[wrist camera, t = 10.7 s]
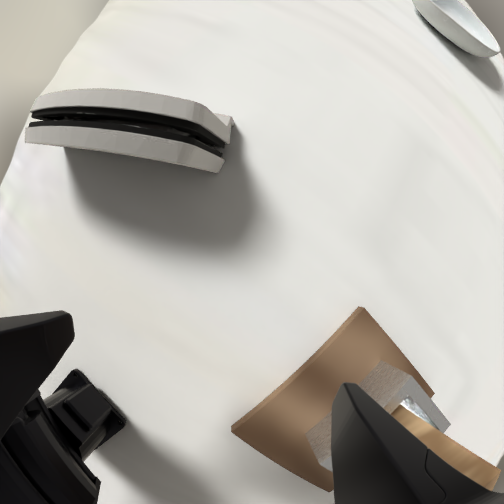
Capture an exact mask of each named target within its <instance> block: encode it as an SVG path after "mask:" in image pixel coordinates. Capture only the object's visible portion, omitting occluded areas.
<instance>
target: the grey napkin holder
mask: <svg viewBox="0 0 504 504" xmlns="http://www.w3.org/2000/svg"><path fill="white" fill-rule="evenodd" d="M30 112H31V113H32V116H31V117H32V118H35V119H39V120H43V121H37V122H31V123H30V124H29V127H26V128H25V143H34V144H43V145H52V146H60V147H69V148H78V149H86V150H94V151H101V152H108V153H115V154H121V155H128V156H134V157H140V158H145V159H151V160H156V161H162V162H167V163H172V164H177V165H182V166H187V167H191V168H196V169H201V170H205V171H210V172H214V173H218V172H219V171H220V169H221V167H222V165H223V163H224V161H225V160H224V159H222V158H221V157H222V153H220V152H219V151H217V150H215V149H213V148H211V147H209V146H207V145H206V144H208V145H212V146H217V147H222V148H224V146H225V143H226V144H230V133H231V126H233V125H234V120H233V118H232V117H231V116H226V115H221V114H216V113H212V112H211V111H210V110H209V109H208V108H207V107H206V106H204V105H202V104H200V103H197V102H194V101H190V100H186V99H181V98H177V97H172V96H167V95H161V94H155V93H148V92H141V91H131V90H119V89H74V90H65V91H58V92H53V93H48V94H45V95H42V96H39V97H37V98H36V100H35V102H34V104H33V106H32V108H31V110H30Z"/></svg>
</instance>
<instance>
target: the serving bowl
mask: <svg viewBox="0 0 504 504" xmlns="http://www.w3.org/2000/svg"><path fill="white" fill-rule="evenodd" d="M412 2H413V3H414V5H415V7H416V8H417V10H418V11H419V12H420V13H421V14H422V16H423V17H424V18H425V19H426V20H427V21H428V22H429V23H430V24H431V25H432V26H433V27H435V28H436V29H437V30H438V31H439V32H440V33H441V34H442V35H444V36H445V37H446V38H447V39H449V40H450V41H451V42H453V43H454V44H455V45H457V46H458V47H460V48H461V49H463V50H465V51H466V52H468V53H470V54H472V55H475V56H478V57H483V58H488V57H493V56H495V55H497V54H498V53H500V47H499V45H498V43H497V41H496V39H495V38H494V37H493V35H492V34H491V33H490V31H489V30H488V29H487V27H486V26H485V25H484V24H483V23H482V22H481V21H480V20H479V19H478V18H477V17H476V16H475V15H474V14H473V13H472V12H471V11H470V10H469V9H468V8H467V7H465V6H464V5H463V4H462V3H461V2H459V1H458V0H412Z"/></svg>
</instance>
